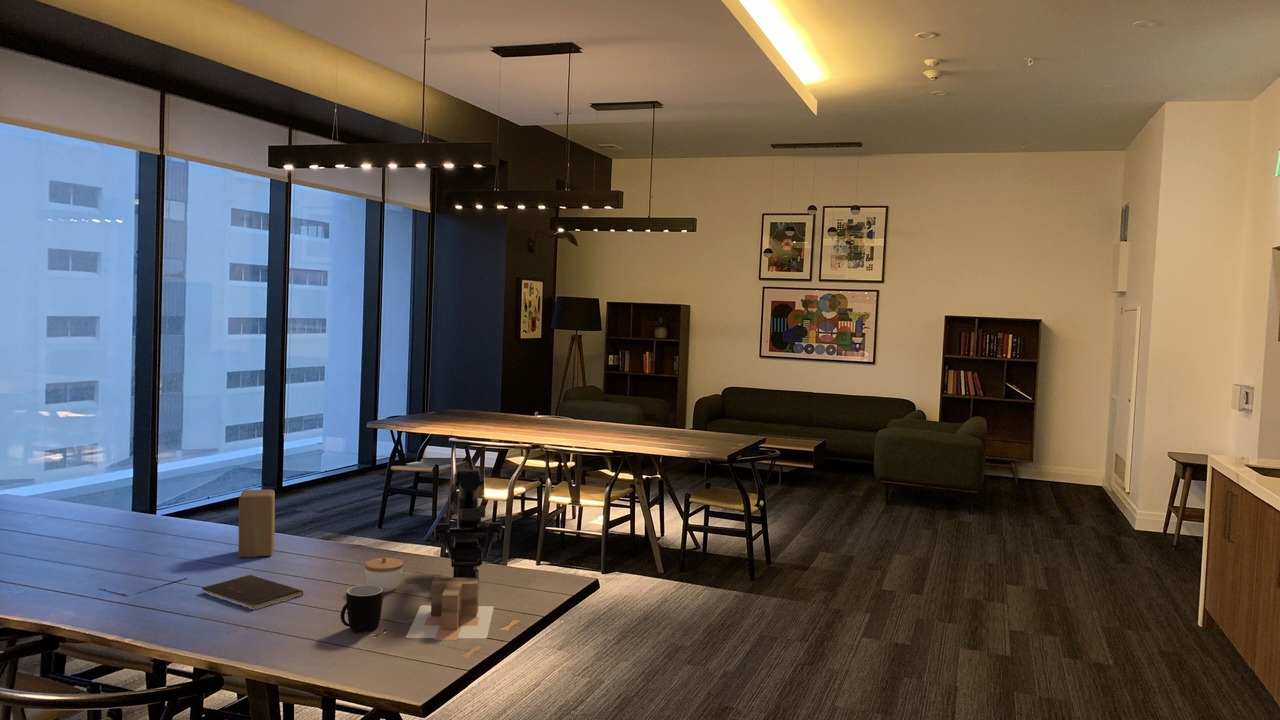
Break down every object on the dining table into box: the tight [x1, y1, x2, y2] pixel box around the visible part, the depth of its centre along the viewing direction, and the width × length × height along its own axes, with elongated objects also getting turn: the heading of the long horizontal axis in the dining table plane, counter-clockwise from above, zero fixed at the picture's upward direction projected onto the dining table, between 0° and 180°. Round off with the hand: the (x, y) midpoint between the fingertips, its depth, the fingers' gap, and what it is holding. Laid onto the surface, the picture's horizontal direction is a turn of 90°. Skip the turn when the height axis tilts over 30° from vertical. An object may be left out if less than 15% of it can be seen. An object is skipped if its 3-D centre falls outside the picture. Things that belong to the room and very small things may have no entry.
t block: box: [430, 577, 480, 630], centre depth 246 cm, size 15×12×9 cm
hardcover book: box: [201, 574, 304, 609], centre depth 261 cm, size 16×23×2 cm
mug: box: [340, 584, 384, 634], centre depth 237 cm, size 12×9×10 cm
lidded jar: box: [364, 556, 404, 593], centre depth 270 cm, size 11×11×9 cm
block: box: [238, 489, 276, 558], centre depth 299 cm, size 10×10×20 cm
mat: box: [405, 605, 495, 641], centre depth 244 cm, size 25×20×1 cm
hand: (468, 559), depth 258 cm, fingers open, 9 cm apart
